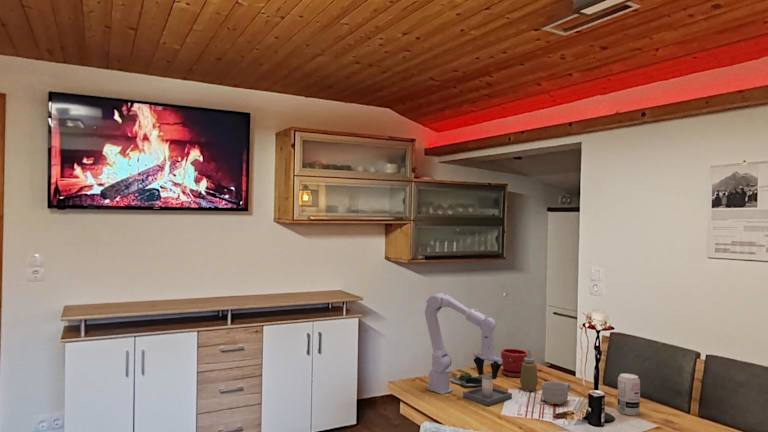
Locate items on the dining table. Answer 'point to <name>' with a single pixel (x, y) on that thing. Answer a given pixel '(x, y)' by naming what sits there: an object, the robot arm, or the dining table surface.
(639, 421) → the dining table surface
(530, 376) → the squeeze bottle
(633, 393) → the supplement can
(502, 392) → the tray
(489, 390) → the salt shaker
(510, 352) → the plant pot
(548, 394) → the teacup
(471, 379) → the salad plate
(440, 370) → the robot arm
